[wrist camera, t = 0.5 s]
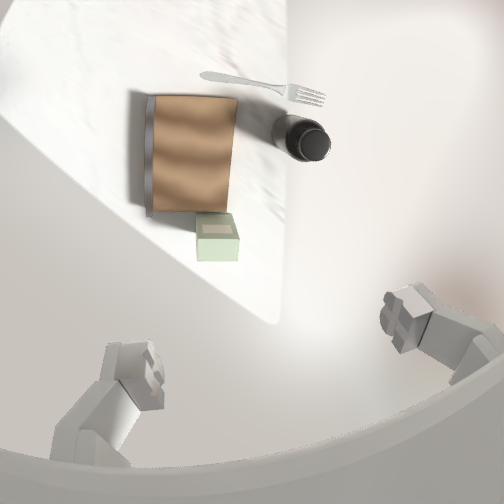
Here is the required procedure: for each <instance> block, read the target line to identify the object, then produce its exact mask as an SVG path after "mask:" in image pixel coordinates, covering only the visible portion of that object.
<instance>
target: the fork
mask: <svg viewBox="0 0 504 504" xmlns="http://www.w3.org/2000/svg"><path fill="white" fill-rule="evenodd" d="M199 76H200V77H201V78H203V79H205V80H209V81H216V82H225V83H236V84H246V85H253V86H259V87H265V88H269V89H273V90H275V91H277V92H279V93H280V94H281V95H282V96H283V95H284V91H285V87H286V85H282V86H272V85H268V84H263V83H259V82H254V81H250V80H246V79H242V78H238V77H234V76H230V75H225V74H220V73H216V72H202V73H200V75H199ZM287 88H288V92H287V99H288V100H289V101H293V102H298V103H304V104H309V105H314V106H319V107H323V106H321V105H318V104H314V103H310V102H305V101H300V100H296V99H295V98H302V99H306V100H310V101H315V102H320V103H324V102H321V101H318V100H315V99H311V98H307V97H303V96H299V95H297V94H296V93H301V94H305V95H309V96H313V97H316V98H320V99H325V98H322V97H319V96H316V95H313V94H309V93H306V92H303V91H299V90H298V88H300V89H304V90H307V91H310V92H314V93H317V94H321V95H325V94H323V93H320V92H317V91H314V90H311V89H308V88H304V87H302V86H299V85H295V84H287ZM325 96H326V95H325Z"/></svg>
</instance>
